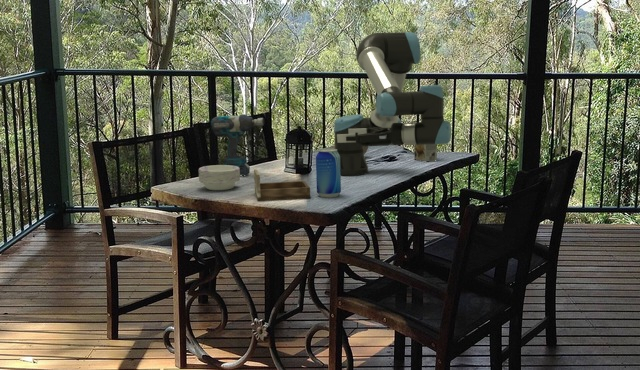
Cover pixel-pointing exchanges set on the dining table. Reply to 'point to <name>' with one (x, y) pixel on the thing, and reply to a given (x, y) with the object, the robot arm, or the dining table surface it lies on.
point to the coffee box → (426, 152)
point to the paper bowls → (219, 176)
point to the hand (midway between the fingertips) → (343, 135)
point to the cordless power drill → (235, 136)
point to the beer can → (328, 173)
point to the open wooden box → (280, 189)
